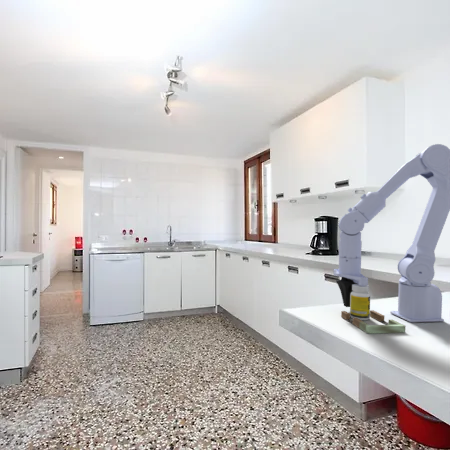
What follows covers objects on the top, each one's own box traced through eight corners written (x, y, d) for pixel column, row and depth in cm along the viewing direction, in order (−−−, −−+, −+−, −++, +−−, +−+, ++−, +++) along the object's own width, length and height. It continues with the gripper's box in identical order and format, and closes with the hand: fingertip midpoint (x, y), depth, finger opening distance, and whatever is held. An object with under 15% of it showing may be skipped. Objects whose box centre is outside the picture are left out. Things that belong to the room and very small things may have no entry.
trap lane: (373, 316, 83) (373, 310, 83) (405, 332, 71) (405, 325, 71) (341, 316, 82) (341, 311, 82) (368, 333, 70) (368, 326, 70)
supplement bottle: (371, 321, 79) (372, 287, 79) (351, 319, 80) (352, 286, 80) (367, 315, 83) (368, 284, 83) (348, 314, 84) (349, 283, 84)
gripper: (324, 254, 93) (323, 299, 94) (350, 260, 79) (348, 314, 79) (346, 254, 94) (345, 299, 95) (376, 260, 80) (374, 313, 80)
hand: (348, 306), depth 87 cm, fingers closed
